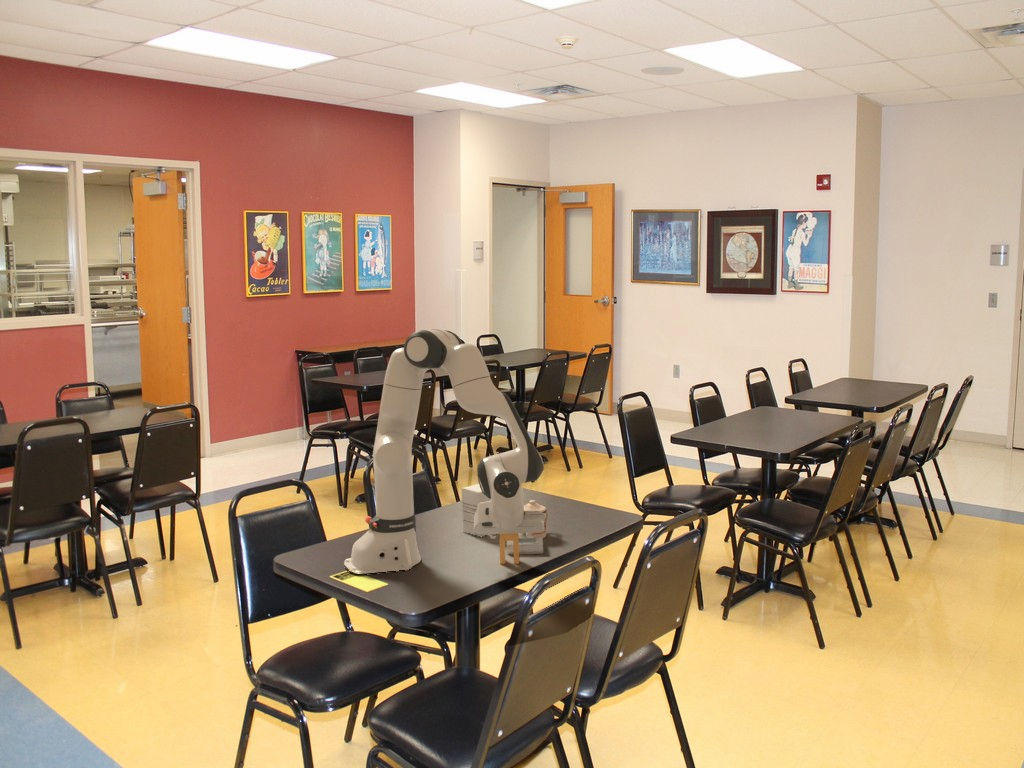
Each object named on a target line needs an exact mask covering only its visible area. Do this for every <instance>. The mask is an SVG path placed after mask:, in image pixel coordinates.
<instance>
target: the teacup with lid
mask: <svg viewBox="0 0 1024 768" xmlns="http://www.w3.org/2000/svg"><path fill="white" fill-rule="evenodd" d="M526 510H537V511H540V512H542V513H545V519H544V531H543V532H541V533H531V534H530V535H528V536H542V539H544V538H545V537H546V536H547V523H548V520H549V512H548V509H547V507H545V506H544V505H541V504H539V503H537V502H536V500H534V499H530V500H529V502H528V503H526V504H524V511H526ZM519 537H523V533H519Z"/></svg>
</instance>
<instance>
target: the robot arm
mask: <svg viewBox="0 0 1024 768" xmlns="http://www.w3.org/2000/svg"><path fill="white" fill-rule="evenodd" d="M430 369H432V370H433V369H434V370H435V369H443V370H444V371H445V372H446V373H447V375H448V377H449V380H450V385H451V388H452V391H453V395H454V396H455V399H456V401H457V403H458V405H459V406H460V408H461V409H463V410H465V411H466V412H469V413H471V414H472V413H473V414H476V415H487V416H494V417H498V418H500V419H501V420H503V421H504V422H505V423H506V425H507V427H508V429H509V432H510V434H511V435H512V438H513V440H514V442H515V444H516V448H514V449H512V450H508V451H505V452H504V451H503V452H501V453H497V454H493V455H489V456H486V457H483V458H481V459H480V461H479V463H478V465H477V468H476V471H477V480H478V481H477V482H478V484H479V485H480V488H481V491H482V493H483V494H484V495H485V496H486V497H488V498H489V499H491V501H488V502H483V503H479V504H478V507H477V511H476V513H475V516H474V533H476V534H487V535H486V536H489V537H490V539H497V538H496V537H497V535H500V534H505V533H518V534H520V533H523V538H526V537H527V538H528V535H530V534H531V533H541V532H543V531H544V519H545V513H542V512H540V511H537V510H526V511H524V506H525V503H524V490H523V485H522V484H523V483H530V482H536V481H538V479H539V478H540V477H541V475H542V473H544V472H543V471H544V470H545V467H544V461H543V457H542V456H541V454H540V452H539V451H538V449H537V448H536V446H535V444H534V443H533V440H532V438H531V437H530V435H529V431H527V429H526V427H525V425H524V422H523V420H522V418H521V417H520V416H521V415H520V414H519V413H518V410H517V409H516V407H515V404H514V403H513V400H511V397H509V395H508V394H507V393H505V392H502V391H500V390H499V389H498V388H497V387H496V386H495V385H494V383H493V381H492V378H491V374H490V372H489V369H488V365H487V364H486V362H485V359H484V357H483V355H482V353H481V351H480V349H479V348H478V347H477V346H476V345H474V344H472V343H463V341H462V339H461V338H460V336H458V335H457V334H456V333H454V332H453V331H450V330H442V329H434V328H433V329H427V330H426V329H421V330H418V331H415V332H413V333H411V334H410V335H409V336H408V337H407V339H406V340H405V342H404V346H403V347H400V348H399V347H398V348H397V349H395V350H394V351H392V353H391V354H390V358H389V361H388V363H387V367H386V370H385V374H384V380H383V386H382V392H381V399H380V406H379V413H378V420H377V427H376V433H375V437H374V444H373V445H374V446H373V450H372V463H373V464H372V465H373V479H374V492H375V493H374V495H375V513H376V514H375V515H374V516H373V518H372V517H371V516H369V515H367V516H366V517H364V520H365V522H366V524H368V525H369V529H368V530H367V531H366V532H365V533H364V534H362V536H360V537H359V539H357V540H355V542H354V543H353V545H352V549H351V553H350V554H351V555H350V557H349V558H346V559H345V560H344V561H343V563H344V564H343V566H344V565H345V566H346V567H347V568H348V569H349V570H351V571H354V572H357V573H375V572H386V573H388V572H387V571H396V572H400V571H399V570H405V571H409V569H410V570H412V568H413V567H414V566H415V565H417V564H419V563H421V560H422V558H421V554H420V551H419V547H418V543H417V535H416V532H417V518H416V513H415V506H414V504H415V503H414V483H413V482H414V481H413V453H412V450H413V449H412V447H413V442H414V441H413V440H414V437H415V436H414V434H415V430H416V429H415V428H416V424H417V420H418V419H417V418H418V413H419V408H420V401H421V395H422V390H423V389H422V388H423V382H424V377H425V374H426V372H427V371H428V370H430Z"/></svg>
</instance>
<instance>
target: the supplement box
mask: <svg viewBox="0 0 1024 768" xmlns="http://www.w3.org/2000/svg"><path fill="white" fill-rule="evenodd" d="M488 501H491V499H489V498H488V497H486V496H485V495H484V494H483V493H482V491H481V488H480V485H479V483H477V484H472V485H469V486H465V487H462V488H461V507H462V508H461V510H462V511H461V512H462V533H465V532H467V533H466V534H468V533H470V534H469V535H472V534H474V535H473V536H475V535H477V536H476V537H479V536H480V538H482V537H481V536H483V537H486V536H488V535H487V534H476V533H474V516H475V513H476V511H477V507H478V504H479V503H483V502H488ZM485 535H486V536H485Z"/></svg>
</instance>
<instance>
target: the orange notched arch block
mask: <svg viewBox="0 0 1024 768" xmlns="http://www.w3.org/2000/svg"><path fill="white" fill-rule="evenodd" d="M519 537H520V534H519V533H505V534H499V564H500V565H506V542H507V541H513V544H514V554H513V565H514V564H515V565H519V564H520V554H519Z"/></svg>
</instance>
